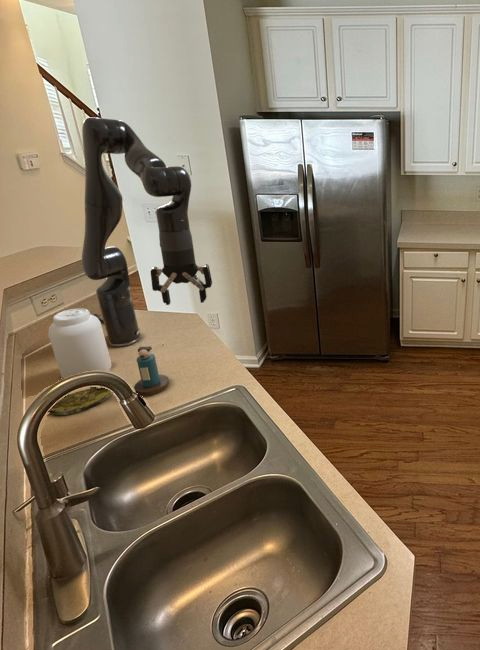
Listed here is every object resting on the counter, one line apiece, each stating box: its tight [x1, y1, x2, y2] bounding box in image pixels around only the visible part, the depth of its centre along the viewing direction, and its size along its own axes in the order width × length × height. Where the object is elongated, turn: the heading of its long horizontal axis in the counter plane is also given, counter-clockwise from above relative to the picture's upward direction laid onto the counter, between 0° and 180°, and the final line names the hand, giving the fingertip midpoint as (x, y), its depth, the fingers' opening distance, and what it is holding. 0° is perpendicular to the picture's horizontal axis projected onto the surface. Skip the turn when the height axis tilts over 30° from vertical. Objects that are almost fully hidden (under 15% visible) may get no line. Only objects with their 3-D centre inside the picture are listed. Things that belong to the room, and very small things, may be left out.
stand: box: [133, 374, 170, 397], centre depth 124 cm, size 9×9×2 cm
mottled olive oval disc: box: [47, 386, 114, 416], centre depth 117 cm, size 9×5×15 cm
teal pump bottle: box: [136, 346, 160, 387], centre depth 122 cm, size 5×4×11 cm
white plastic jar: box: [47, 307, 112, 379], centre depth 127 cm, size 12×12×20 cm
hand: (185, 302), depth 118 cm, fingers open, 8 cm apart
